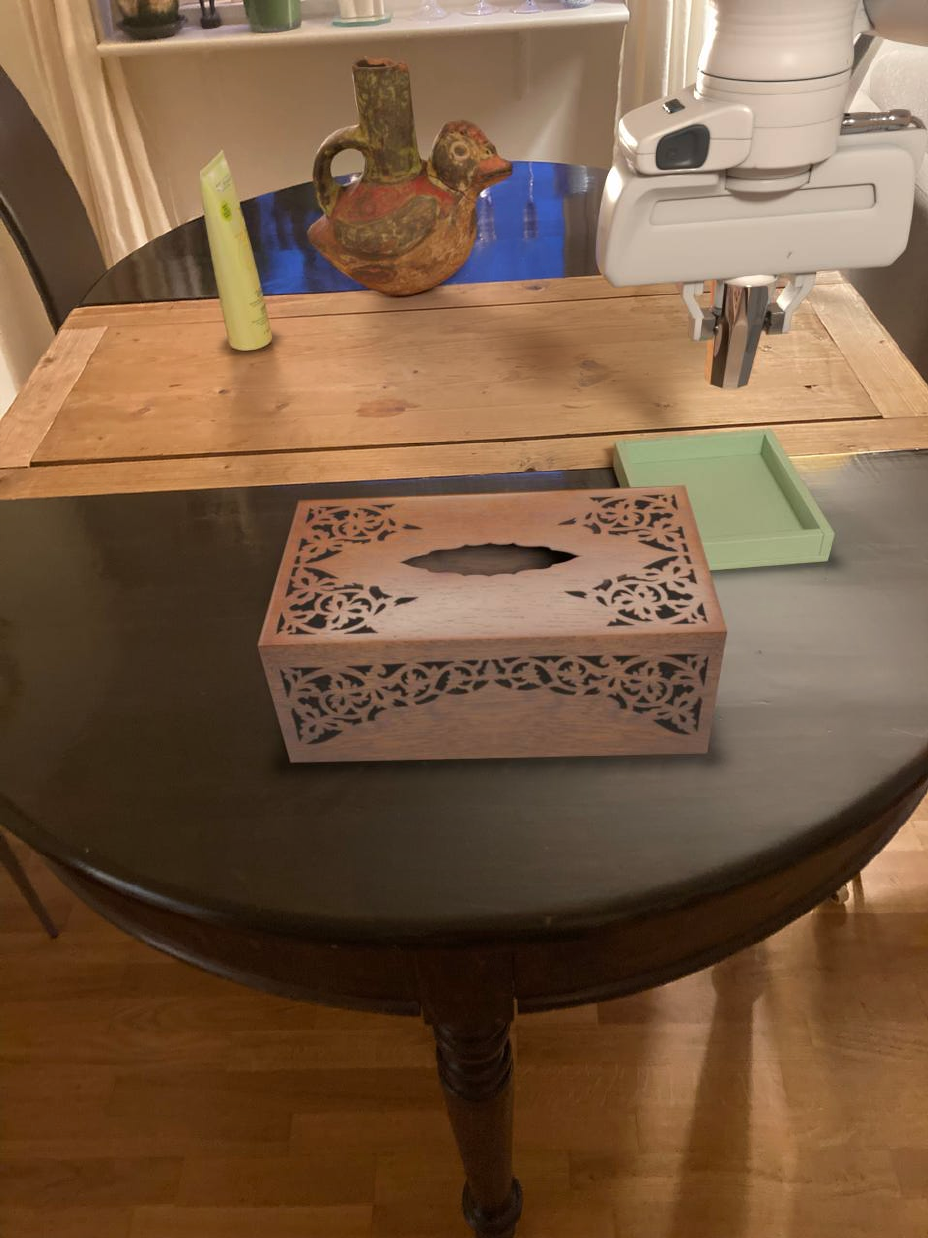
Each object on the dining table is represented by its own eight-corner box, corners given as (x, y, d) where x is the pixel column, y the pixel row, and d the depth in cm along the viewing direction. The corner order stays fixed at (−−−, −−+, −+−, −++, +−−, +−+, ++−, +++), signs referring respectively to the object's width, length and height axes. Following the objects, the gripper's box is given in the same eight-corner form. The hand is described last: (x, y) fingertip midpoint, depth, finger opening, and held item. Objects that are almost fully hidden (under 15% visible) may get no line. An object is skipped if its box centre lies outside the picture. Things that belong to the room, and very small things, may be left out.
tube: (282, 344, 105) (245, 159, 92) (242, 358, 103) (198, 170, 90) (261, 329, 109) (223, 149, 96) (221, 341, 107) (177, 159, 94)
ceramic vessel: (507, 316, 107) (499, 70, 91) (295, 313, 111) (250, 78, 95) (525, 261, 120) (521, 37, 103) (334, 261, 124) (301, 46, 108)
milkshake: (749, 403, 65) (775, 260, 59) (684, 381, 68) (702, 243, 62) (780, 380, 68) (809, 241, 61) (716, 360, 71) (737, 225, 64)
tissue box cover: (290, 762, 58) (257, 645, 51) (322, 612, 69) (298, 500, 62) (706, 753, 56) (727, 631, 50) (672, 601, 67) (685, 485, 61)
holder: (766, 454, 81) (771, 428, 80) (828, 561, 70) (835, 533, 68) (613, 466, 81) (614, 440, 80) (648, 575, 70) (650, 548, 68)
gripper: (913, 94, 59) (865, 305, 68) (595, 119, 59) (589, 327, 68) (958, 118, 54) (900, 341, 63) (611, 146, 54) (603, 365, 63)
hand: (736, 334), depth 66 cm, fingers closed on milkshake, 4 cm apart
